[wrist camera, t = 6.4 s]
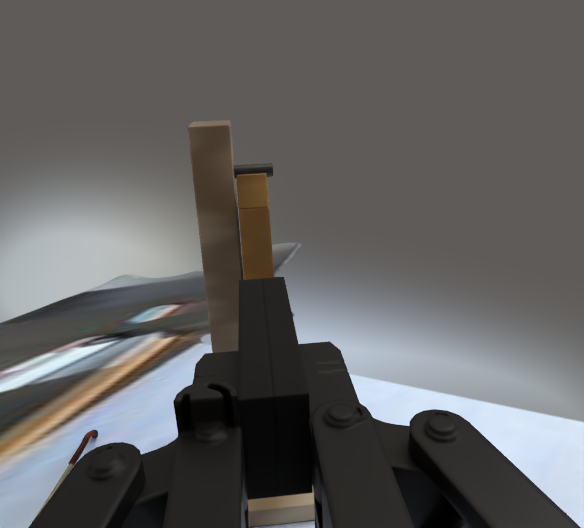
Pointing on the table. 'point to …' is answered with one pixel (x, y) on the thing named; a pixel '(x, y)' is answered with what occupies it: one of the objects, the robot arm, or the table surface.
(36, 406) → the table surface
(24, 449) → the table surface
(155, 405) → the table surface
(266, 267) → the picture frame
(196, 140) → the post
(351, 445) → the robot arm
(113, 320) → the table surface
